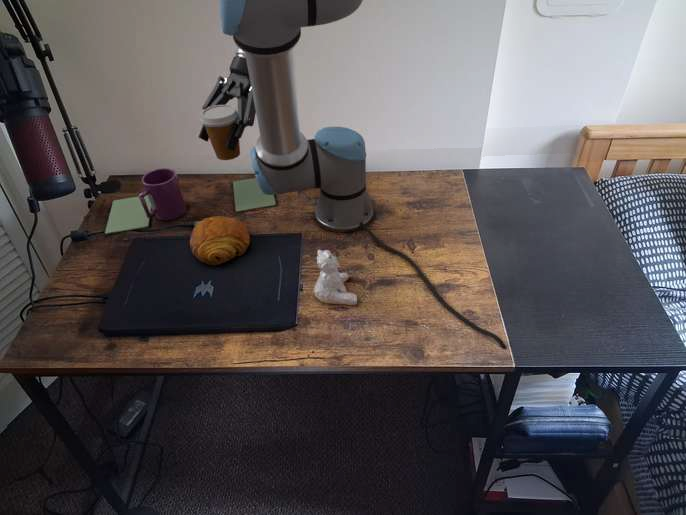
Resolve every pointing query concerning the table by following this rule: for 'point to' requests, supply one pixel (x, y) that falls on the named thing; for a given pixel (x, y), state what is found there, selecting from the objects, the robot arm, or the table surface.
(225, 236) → the croissant
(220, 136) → the disposable coffee cup
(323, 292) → the white creature statuette
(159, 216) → the plum mug
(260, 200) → the cup mat
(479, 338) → the table surface
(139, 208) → the mug mat
